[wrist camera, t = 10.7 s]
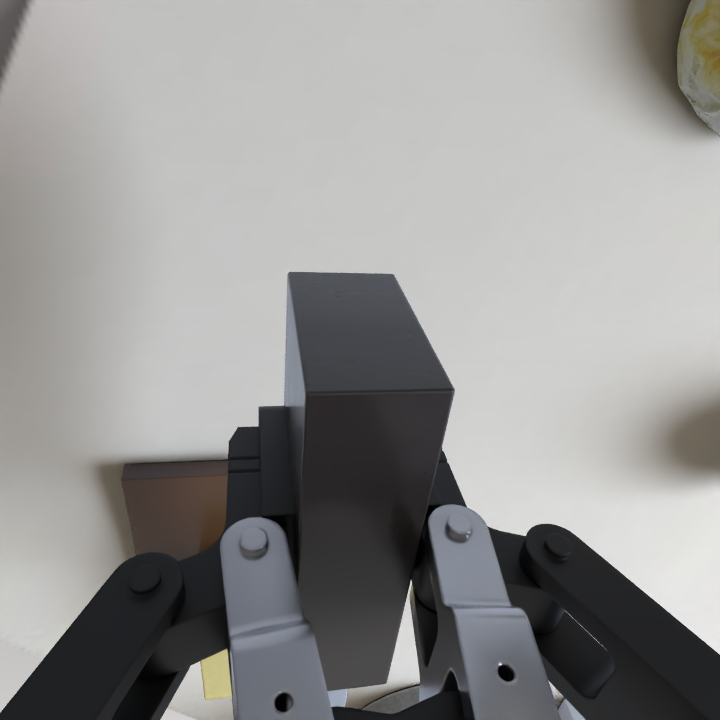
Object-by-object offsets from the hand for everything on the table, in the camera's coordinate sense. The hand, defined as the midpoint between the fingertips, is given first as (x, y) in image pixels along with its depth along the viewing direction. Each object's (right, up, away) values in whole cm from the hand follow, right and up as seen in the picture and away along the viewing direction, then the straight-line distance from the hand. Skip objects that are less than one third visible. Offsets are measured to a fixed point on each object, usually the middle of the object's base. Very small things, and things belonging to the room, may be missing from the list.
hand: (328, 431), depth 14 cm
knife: (0, -4, +3) cm, 5 cm away
